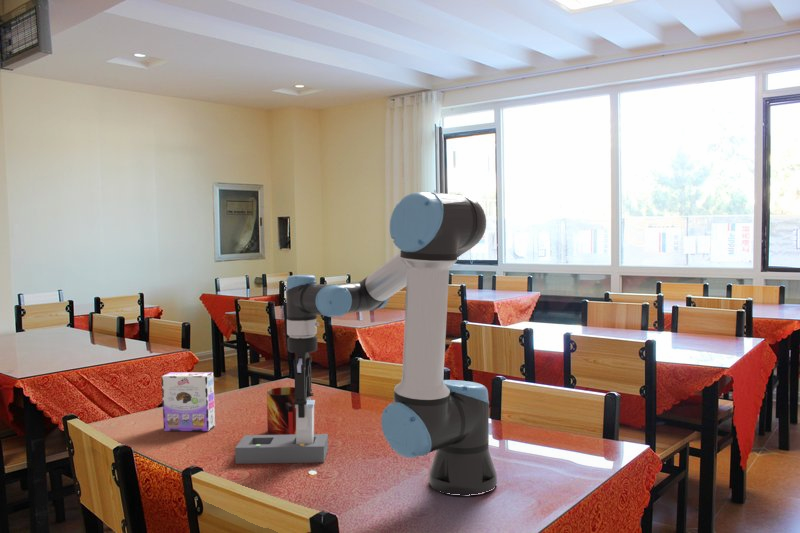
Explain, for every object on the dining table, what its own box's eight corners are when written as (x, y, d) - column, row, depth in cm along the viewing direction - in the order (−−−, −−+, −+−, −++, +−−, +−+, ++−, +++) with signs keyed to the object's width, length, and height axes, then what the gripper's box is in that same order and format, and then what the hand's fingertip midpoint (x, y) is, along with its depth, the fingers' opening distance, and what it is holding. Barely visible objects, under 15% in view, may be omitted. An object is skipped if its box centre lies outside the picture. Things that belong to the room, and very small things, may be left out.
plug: (312, 459, 161) (312, 404, 160) (295, 458, 161) (295, 404, 160) (314, 453, 166) (315, 399, 165) (297, 452, 166) (298, 399, 165)
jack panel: (324, 462, 158) (323, 445, 158) (235, 463, 158) (235, 446, 158) (328, 448, 168) (327, 432, 168) (244, 450, 168) (244, 434, 168)
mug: (290, 442, 174) (289, 399, 174) (260, 432, 183) (259, 391, 183) (317, 434, 181) (317, 392, 181) (287, 425, 191) (286, 385, 190)
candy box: (216, 426, 190) (214, 371, 190) (208, 432, 184) (206, 375, 184) (171, 425, 192) (170, 371, 191) (162, 431, 186) (160, 375, 185)
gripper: (312, 341, 153) (314, 436, 154) (321, 330, 171) (322, 415, 172) (281, 341, 153) (283, 437, 154) (293, 330, 171) (295, 415, 172)
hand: (304, 425), depth 163 cm, fingers open, 5 cm apart
